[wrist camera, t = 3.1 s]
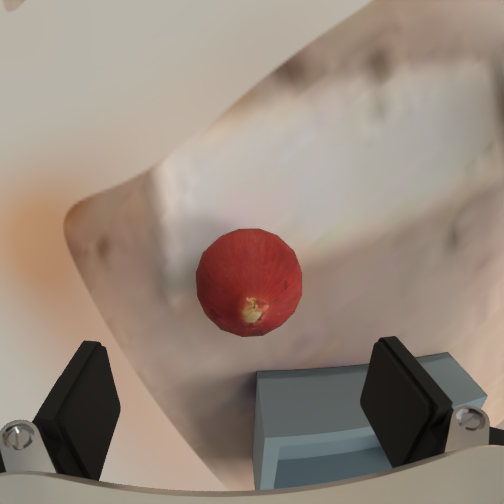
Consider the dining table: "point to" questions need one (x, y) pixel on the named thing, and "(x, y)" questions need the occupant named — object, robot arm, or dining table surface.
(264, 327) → the red round fruit
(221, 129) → the dining table surface
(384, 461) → the blue-grey open box
